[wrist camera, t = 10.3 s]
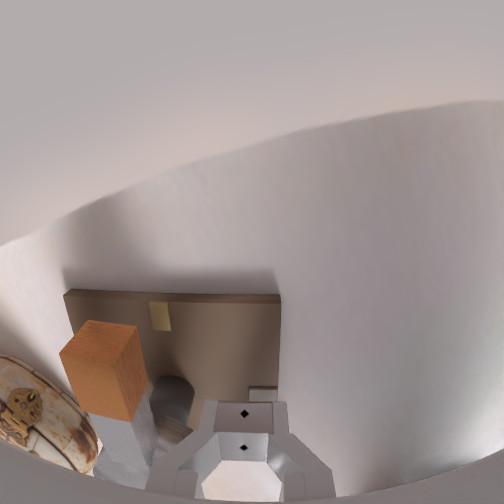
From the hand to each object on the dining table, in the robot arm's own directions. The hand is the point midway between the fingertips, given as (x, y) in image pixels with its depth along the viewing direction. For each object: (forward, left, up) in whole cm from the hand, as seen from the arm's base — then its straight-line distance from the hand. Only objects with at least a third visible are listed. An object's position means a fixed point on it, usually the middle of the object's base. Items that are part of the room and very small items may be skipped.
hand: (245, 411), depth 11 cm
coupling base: (+6, +7, -10) cm, 13 cm away
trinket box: (+23, +14, -10) cm, 29 cm away
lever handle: (+6, +4, -3) cm, 7 cm away
